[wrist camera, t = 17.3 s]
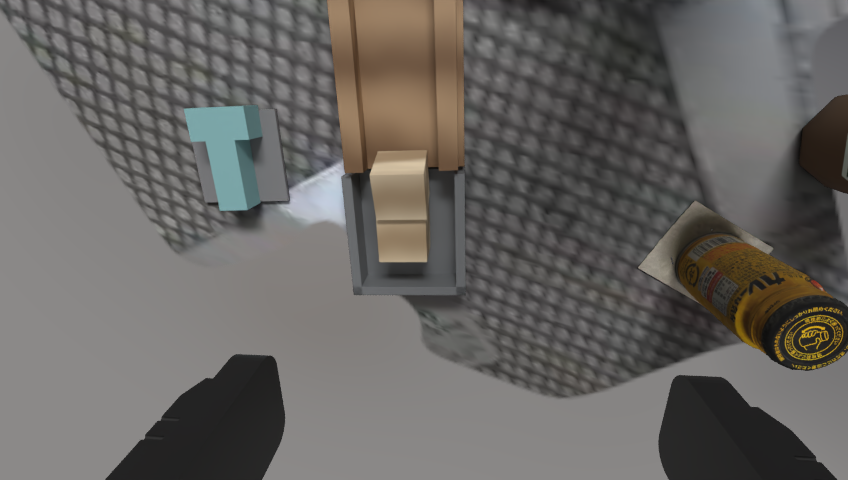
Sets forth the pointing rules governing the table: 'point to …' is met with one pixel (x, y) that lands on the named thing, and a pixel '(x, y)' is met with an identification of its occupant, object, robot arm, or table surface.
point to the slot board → (399, 79)
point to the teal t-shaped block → (229, 151)
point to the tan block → (403, 240)
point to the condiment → (750, 290)
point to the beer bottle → (827, 145)
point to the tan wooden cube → (400, 185)
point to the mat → (264, 159)
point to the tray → (445, 240)
